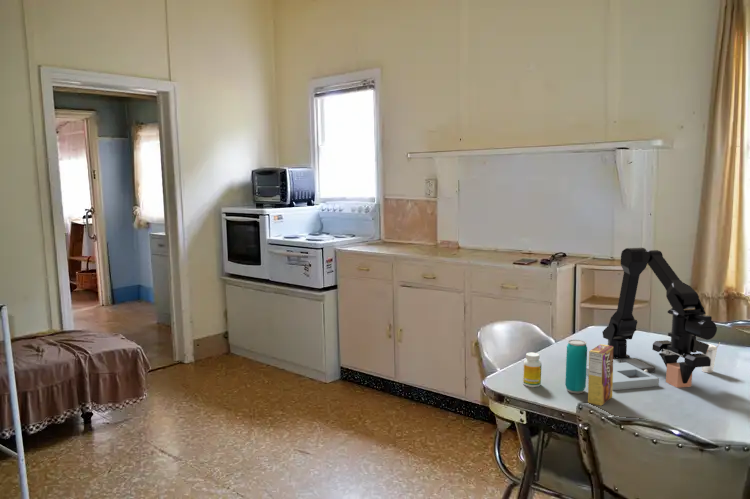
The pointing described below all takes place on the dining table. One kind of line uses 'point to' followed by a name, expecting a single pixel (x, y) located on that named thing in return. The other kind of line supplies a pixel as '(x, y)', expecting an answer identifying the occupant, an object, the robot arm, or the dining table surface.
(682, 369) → the robot arm
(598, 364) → the candy box
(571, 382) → the beverage can
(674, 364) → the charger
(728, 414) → the dining table surface
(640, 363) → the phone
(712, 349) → the milkshake
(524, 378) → the supplement bottle
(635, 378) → the outlet plate
